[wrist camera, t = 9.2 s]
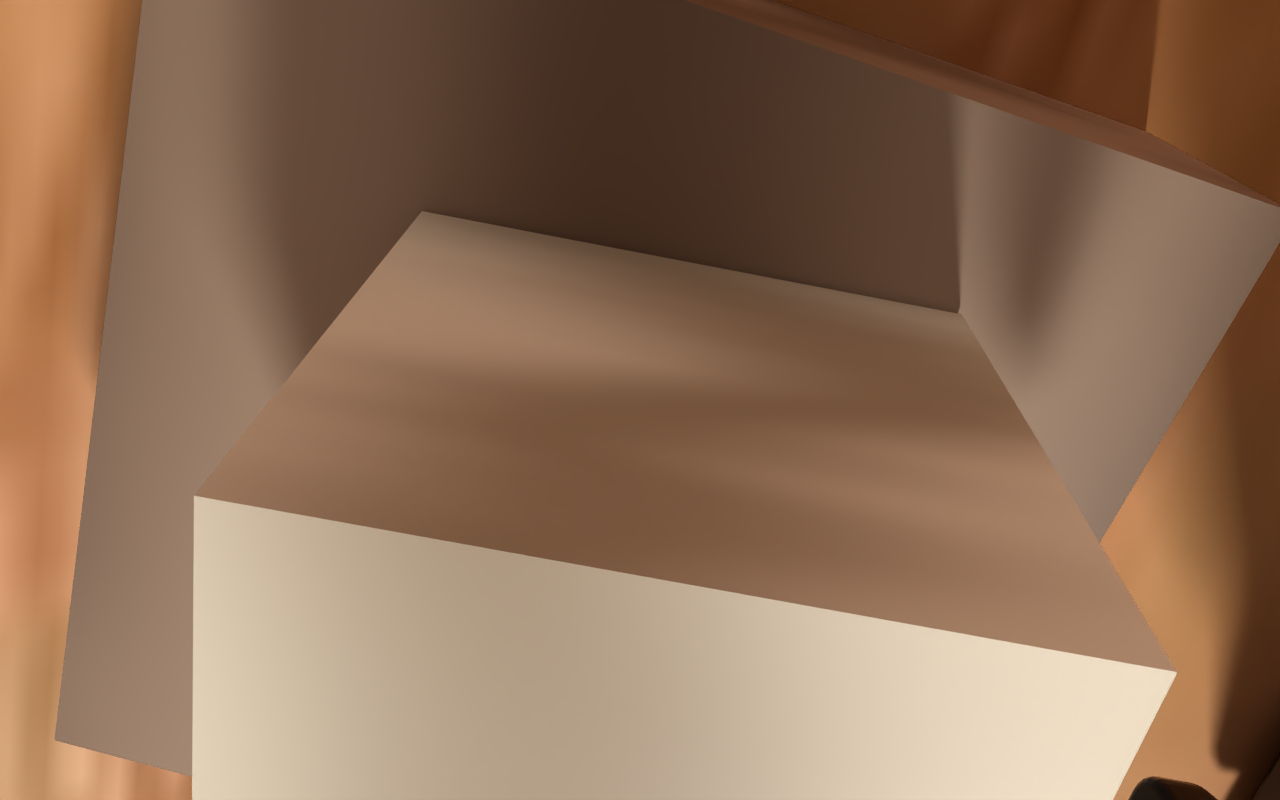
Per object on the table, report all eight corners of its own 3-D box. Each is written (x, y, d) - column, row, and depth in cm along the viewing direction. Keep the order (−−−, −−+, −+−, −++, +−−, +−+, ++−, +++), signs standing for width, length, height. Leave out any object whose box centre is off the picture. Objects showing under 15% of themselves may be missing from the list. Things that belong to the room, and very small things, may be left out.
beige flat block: (1131, 122, 13) (1297, 213, 10) (819, 730, 17) (853, 953, 14) (318, -163, 12) (164, -182, 9) (194, 552, 16) (53, 740, 13)
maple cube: (961, 313, 10) (1178, 672, 6) (823, 725, 12) (898, 1223, 8) (422, 210, 10) (195, 493, 5) (378, 648, 12) (190, 1109, 8)
